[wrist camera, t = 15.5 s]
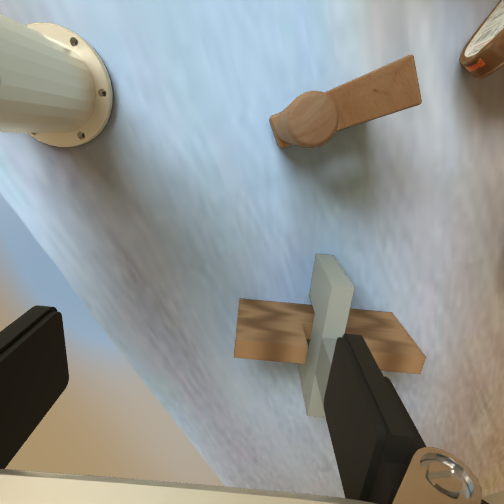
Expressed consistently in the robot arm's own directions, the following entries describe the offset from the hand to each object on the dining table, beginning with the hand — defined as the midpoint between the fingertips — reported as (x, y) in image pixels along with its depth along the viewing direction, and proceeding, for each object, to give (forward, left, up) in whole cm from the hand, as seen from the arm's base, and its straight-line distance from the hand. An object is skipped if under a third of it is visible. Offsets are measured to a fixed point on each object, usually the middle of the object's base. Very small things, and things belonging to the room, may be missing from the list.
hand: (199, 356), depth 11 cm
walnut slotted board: (+12, -16, -32) cm, 38 cm away
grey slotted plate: (+12, -16, -32) cm, 38 cm away
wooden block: (+8, +10, -32) cm, 35 cm away
